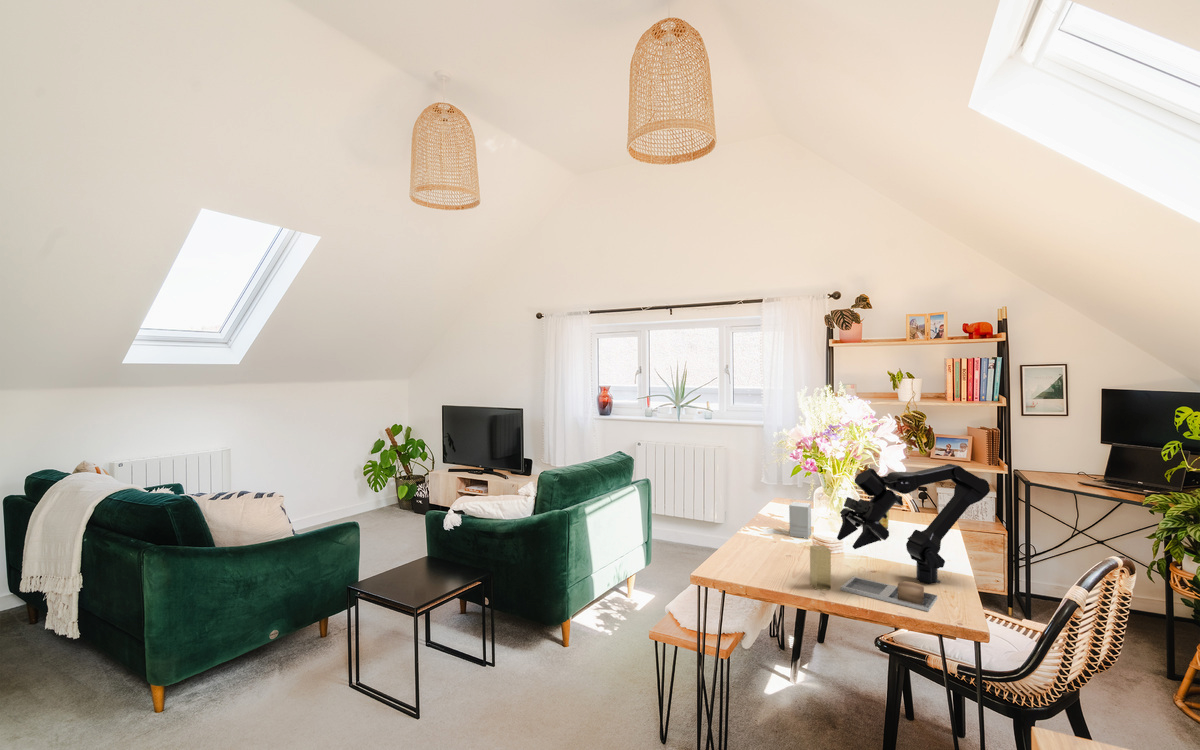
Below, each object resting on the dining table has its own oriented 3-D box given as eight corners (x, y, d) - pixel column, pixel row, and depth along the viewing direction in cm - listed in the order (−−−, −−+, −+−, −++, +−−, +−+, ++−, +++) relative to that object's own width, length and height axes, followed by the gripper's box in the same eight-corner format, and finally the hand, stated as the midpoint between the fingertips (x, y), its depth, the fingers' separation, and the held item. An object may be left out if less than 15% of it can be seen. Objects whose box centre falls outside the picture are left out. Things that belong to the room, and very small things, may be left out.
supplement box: (811, 534, 230) (811, 503, 230) (808, 539, 224) (808, 507, 223) (792, 531, 234) (792, 501, 234) (788, 536, 227) (788, 504, 227)
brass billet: (823, 584, 176) (823, 545, 176) (830, 589, 172) (830, 550, 172) (810, 584, 176) (810, 545, 176) (816, 589, 171) (816, 550, 171)
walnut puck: (900, 593, 166) (900, 579, 166) (926, 599, 162) (926, 585, 162) (894, 600, 161) (894, 586, 161) (920, 606, 157) (920, 592, 157)
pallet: (853, 582, 177) (853, 576, 177) (937, 602, 162) (937, 595, 162) (840, 593, 169) (840, 586, 169) (928, 615, 154) (928, 608, 154)
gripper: (844, 482, 184) (813, 518, 183) (878, 494, 165) (842, 534, 164) (868, 506, 184) (837, 541, 183) (904, 520, 166) (869, 559, 165)
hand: (845, 543), depth 174 cm, fingers open, 9 cm apart
